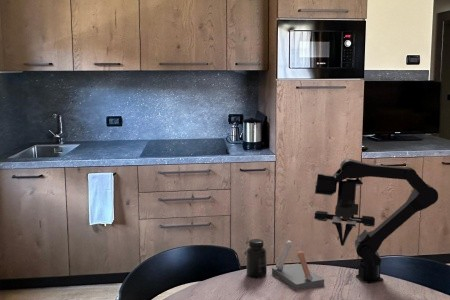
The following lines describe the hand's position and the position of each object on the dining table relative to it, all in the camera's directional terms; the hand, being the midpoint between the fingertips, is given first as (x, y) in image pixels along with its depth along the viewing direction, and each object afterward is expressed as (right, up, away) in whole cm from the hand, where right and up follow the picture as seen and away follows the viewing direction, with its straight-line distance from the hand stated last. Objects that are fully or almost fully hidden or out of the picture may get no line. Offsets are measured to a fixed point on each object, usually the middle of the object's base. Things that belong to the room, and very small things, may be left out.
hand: (342, 245), depth 148 cm
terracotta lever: (-11, -10, 0) cm, 15 cm away
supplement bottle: (-27, -12, +9) cm, 31 cm away
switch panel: (-14, -12, +6) cm, 19 cm away
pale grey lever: (-19, -9, +9) cm, 23 cm away
